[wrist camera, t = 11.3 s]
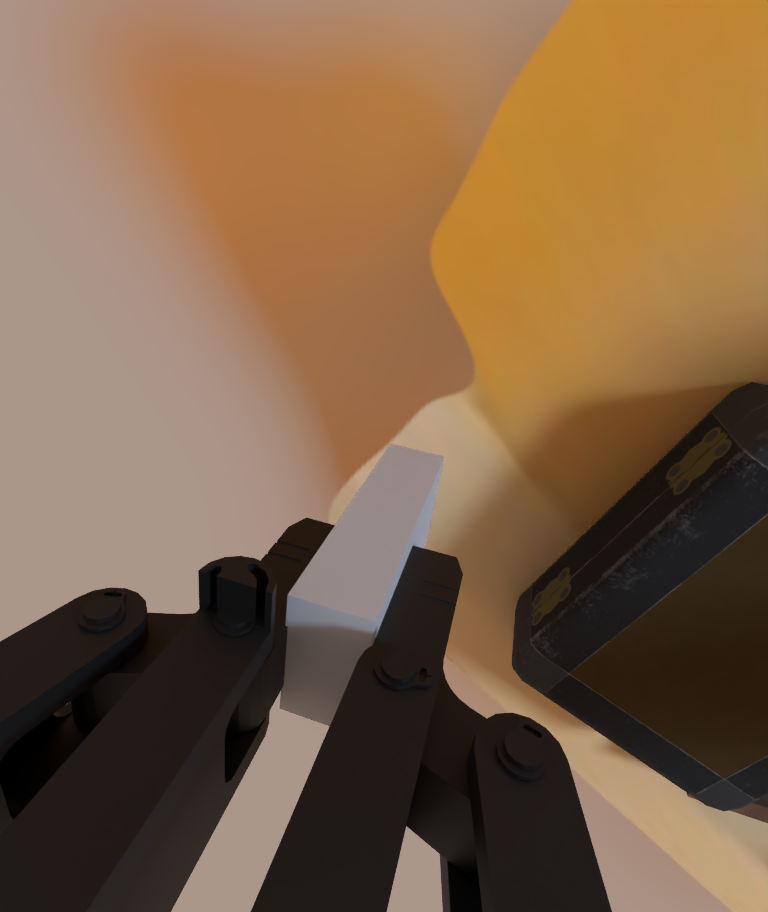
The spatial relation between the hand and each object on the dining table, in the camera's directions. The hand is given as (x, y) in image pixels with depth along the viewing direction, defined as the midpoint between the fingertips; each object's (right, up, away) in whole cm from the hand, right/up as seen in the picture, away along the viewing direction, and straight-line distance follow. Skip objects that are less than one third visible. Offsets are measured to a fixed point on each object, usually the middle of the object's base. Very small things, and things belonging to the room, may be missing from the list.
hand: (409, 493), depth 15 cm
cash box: (+25, -8, +25) cm, 36 cm away
